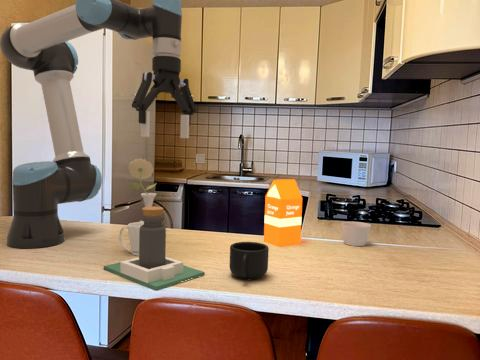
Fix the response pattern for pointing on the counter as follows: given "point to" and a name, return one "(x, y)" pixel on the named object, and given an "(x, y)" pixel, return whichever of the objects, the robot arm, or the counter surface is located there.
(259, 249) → the mug
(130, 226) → the cup
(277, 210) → the orange juice
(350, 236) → the candle
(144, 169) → the flower in vase
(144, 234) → the bottle
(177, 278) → the board
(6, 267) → the counter surface
